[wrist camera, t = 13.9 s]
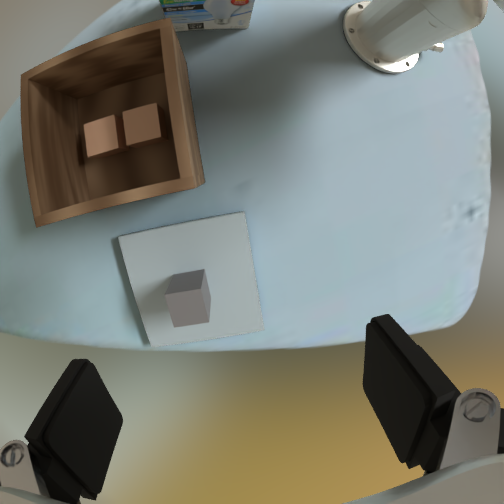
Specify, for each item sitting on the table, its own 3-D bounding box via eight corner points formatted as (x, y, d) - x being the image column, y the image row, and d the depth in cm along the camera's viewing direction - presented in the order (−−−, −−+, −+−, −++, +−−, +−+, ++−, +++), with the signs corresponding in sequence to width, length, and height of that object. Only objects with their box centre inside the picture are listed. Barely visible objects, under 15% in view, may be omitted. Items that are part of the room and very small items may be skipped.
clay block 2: (163, 109, 32) (156, 102, 28) (167, 140, 33) (161, 136, 29) (132, 117, 32) (122, 111, 28) (136, 148, 33) (126, 145, 29)
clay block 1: (125, 119, 32) (114, 114, 28) (129, 150, 33) (118, 147, 29) (96, 128, 32) (83, 124, 28) (100, 158, 33) (87, 157, 29)
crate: (186, 63, 32) (170, 17, 19) (205, 182, 36) (194, 188, 23) (73, 97, 31) (21, 74, 18) (89, 209, 35) (36, 227, 23)
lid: (243, 209, 38) (249, 220, 29) (262, 322, 42) (271, 356, 34) (123, 233, 37) (98, 250, 29) (154, 339, 41) (141, 374, 33)
